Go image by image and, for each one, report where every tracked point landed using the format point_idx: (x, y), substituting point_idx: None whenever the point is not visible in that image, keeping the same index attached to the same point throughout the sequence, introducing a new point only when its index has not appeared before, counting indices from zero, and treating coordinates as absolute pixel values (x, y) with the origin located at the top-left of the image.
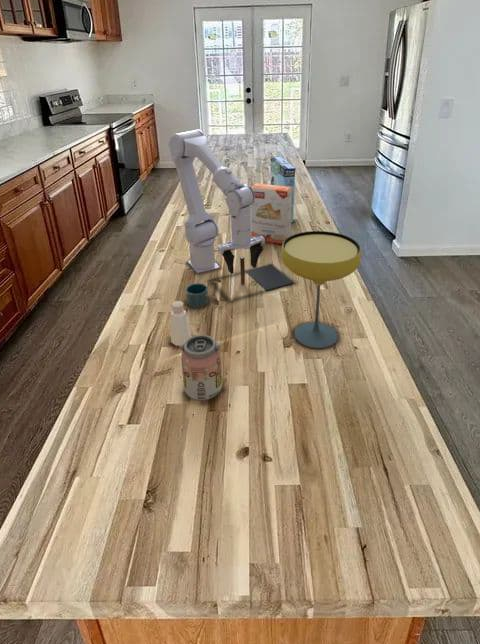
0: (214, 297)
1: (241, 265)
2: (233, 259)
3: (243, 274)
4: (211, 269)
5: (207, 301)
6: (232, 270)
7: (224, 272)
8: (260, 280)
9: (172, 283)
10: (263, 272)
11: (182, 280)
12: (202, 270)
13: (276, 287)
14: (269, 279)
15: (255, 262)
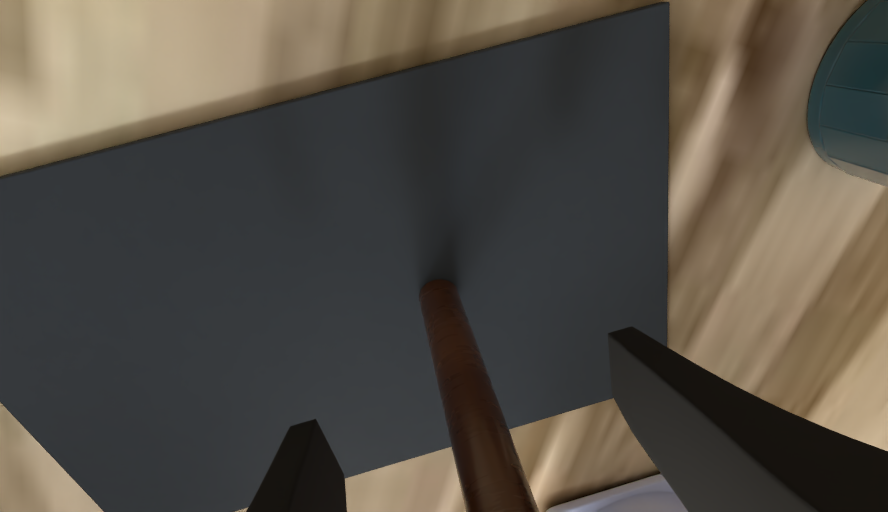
0: (738, 127)
1: (507, 441)
2: (817, 504)
3: (454, 346)
4: (608, 495)
5: (867, 25)
6: (652, 350)
7: (527, 464)
8: (258, 320)
9: (883, 374)
10: (214, 439)
11: (815, 399)
12: (668, 486)
13: (75, 158)
14: (159, 325)
15: (282, 490)
